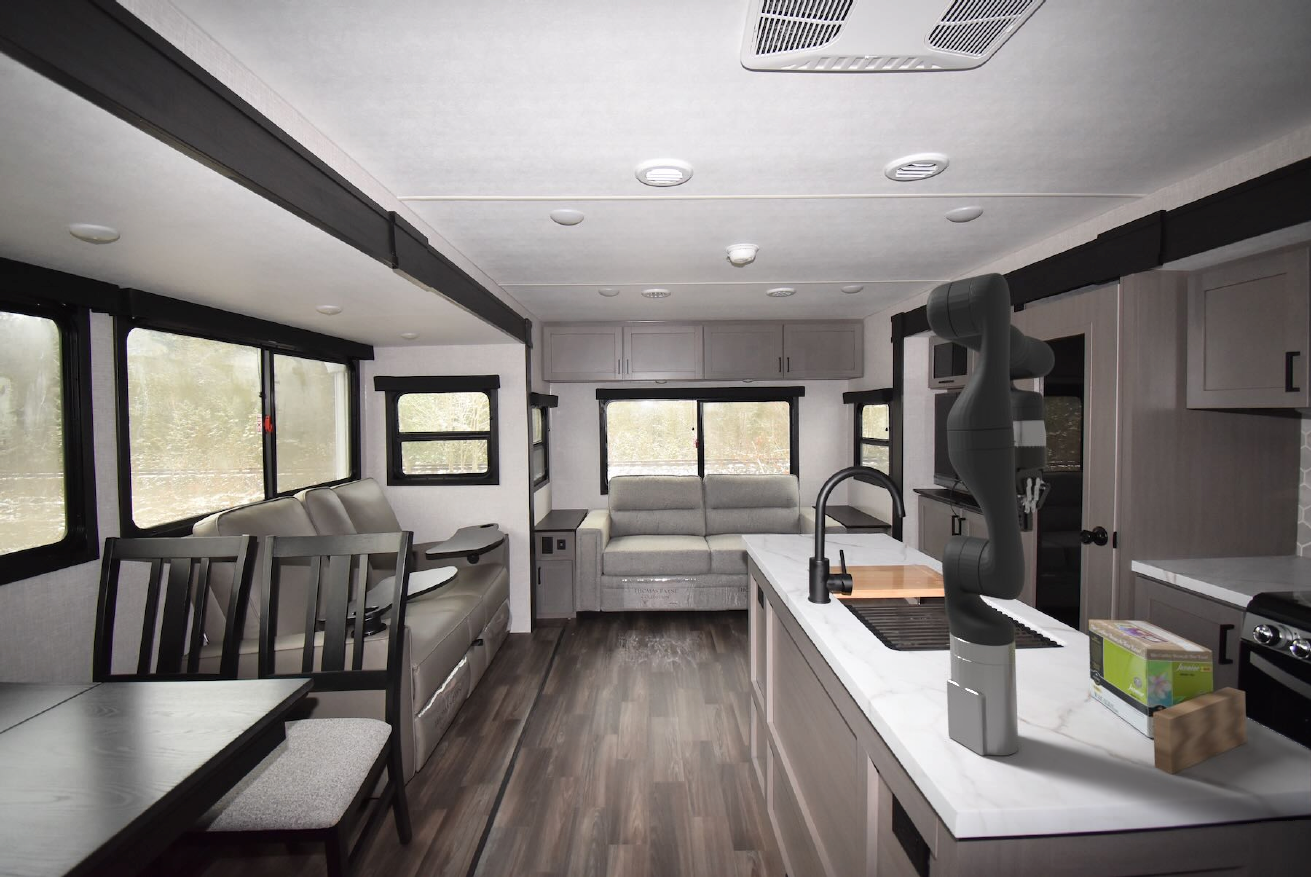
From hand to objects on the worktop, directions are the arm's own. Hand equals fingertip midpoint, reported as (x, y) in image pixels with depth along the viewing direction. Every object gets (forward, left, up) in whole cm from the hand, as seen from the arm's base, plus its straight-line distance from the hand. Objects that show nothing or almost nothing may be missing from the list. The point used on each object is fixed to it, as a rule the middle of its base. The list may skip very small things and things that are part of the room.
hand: (1025, 531), depth 108 cm
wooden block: (0, -26, -30) cm, 40 cm away
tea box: (+5, -17, -31) cm, 35 cm away
